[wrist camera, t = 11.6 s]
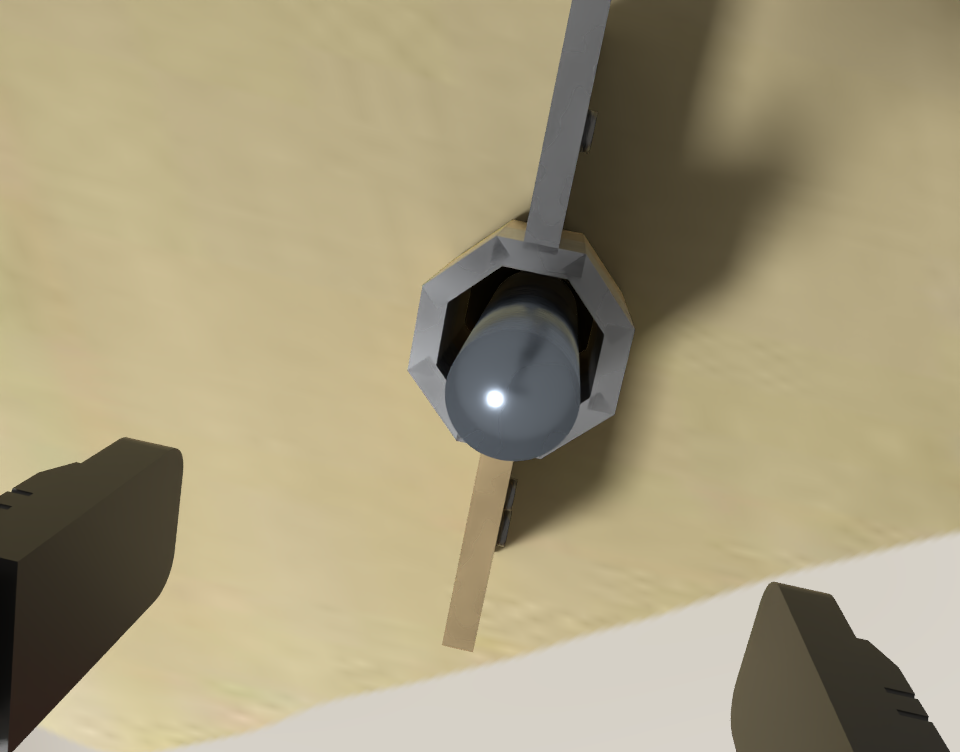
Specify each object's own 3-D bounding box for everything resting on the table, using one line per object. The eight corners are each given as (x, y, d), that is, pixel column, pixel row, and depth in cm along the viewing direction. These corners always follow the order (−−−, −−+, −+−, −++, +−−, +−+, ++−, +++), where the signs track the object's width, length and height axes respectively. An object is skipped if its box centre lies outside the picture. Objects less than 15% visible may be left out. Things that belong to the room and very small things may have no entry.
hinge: (499, 9, 30) (477, -34, 23) (680, 43, 30) (712, 10, 23) (403, 537, 35) (362, 627, 28) (557, 571, 35) (553, 670, 28)
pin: (543, 251, 32) (527, 302, 20) (594, 323, 32) (607, 413, 21) (472, 303, 33) (417, 380, 21) (523, 372, 33) (497, 486, 22)
